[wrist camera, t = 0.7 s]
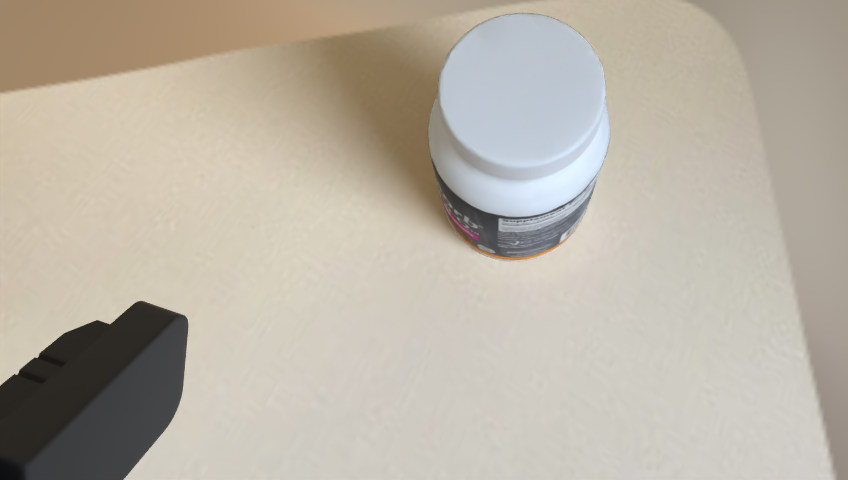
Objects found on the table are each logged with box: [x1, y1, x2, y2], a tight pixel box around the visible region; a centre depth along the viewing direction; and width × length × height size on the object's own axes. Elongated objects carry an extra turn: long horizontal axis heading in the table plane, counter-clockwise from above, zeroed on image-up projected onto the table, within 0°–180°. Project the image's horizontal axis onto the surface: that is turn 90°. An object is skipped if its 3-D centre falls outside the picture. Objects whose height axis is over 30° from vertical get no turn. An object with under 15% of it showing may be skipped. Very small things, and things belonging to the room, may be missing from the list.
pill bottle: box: [428, 13, 610, 261], centre depth 27 cm, size 6×6×10 cm
